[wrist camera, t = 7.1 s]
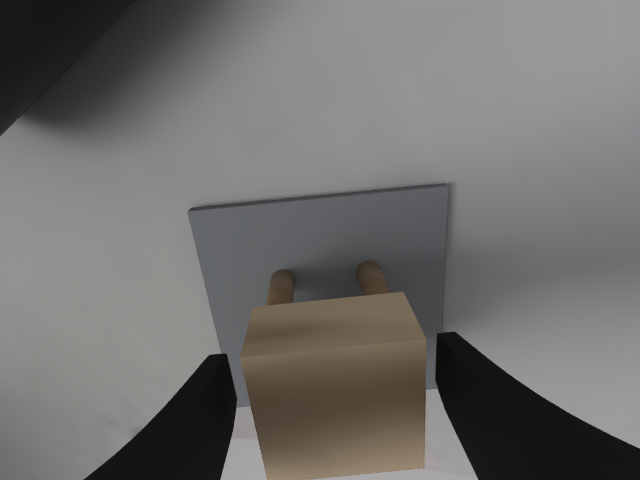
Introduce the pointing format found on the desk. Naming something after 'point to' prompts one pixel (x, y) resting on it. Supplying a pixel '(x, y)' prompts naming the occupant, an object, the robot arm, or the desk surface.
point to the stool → (336, 381)
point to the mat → (322, 256)
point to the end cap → (45, 45)
